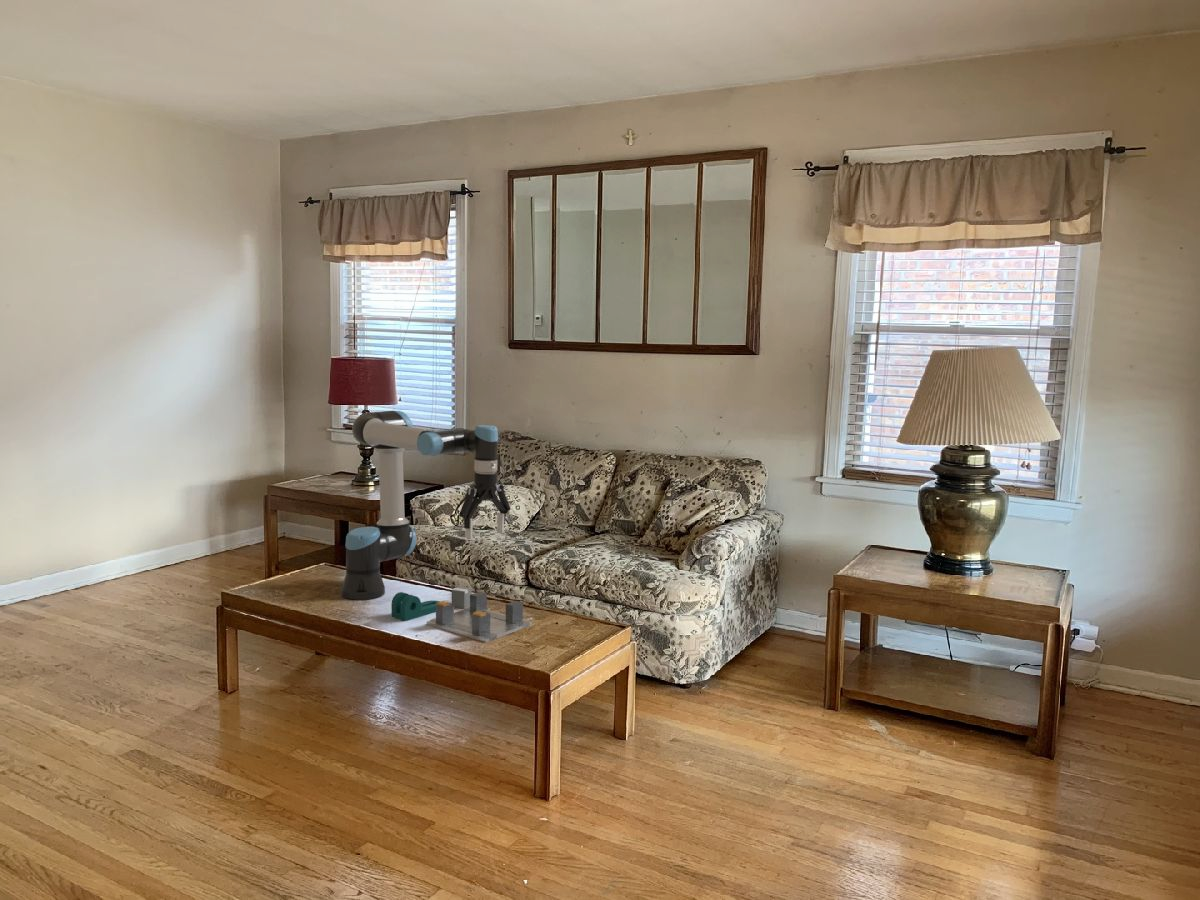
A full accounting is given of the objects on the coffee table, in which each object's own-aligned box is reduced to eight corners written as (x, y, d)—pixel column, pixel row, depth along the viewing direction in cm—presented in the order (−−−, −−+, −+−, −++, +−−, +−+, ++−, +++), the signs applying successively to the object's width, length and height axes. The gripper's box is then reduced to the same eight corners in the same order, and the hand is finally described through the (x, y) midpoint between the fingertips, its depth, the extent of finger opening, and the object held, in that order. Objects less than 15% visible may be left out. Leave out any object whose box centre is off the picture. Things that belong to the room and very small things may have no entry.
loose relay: (451, 606, 315) (451, 589, 314) (458, 602, 320) (458, 585, 319) (464, 608, 313) (464, 591, 312) (471, 604, 318) (471, 587, 317)
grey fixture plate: (426, 624, 295) (426, 601, 294) (474, 609, 313) (474, 586, 312) (485, 642, 280) (485, 617, 279) (532, 624, 298) (532, 601, 297)
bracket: (404, 622, 298) (404, 598, 297) (391, 617, 302) (391, 594, 301) (446, 609, 312) (446, 587, 311) (432, 605, 316) (432, 583, 315)
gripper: (463, 477, 291) (462, 542, 294) (521, 470, 309) (520, 531, 312) (448, 474, 296) (447, 538, 299) (506, 467, 314) (505, 527, 317)
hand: (484, 535), depth 305 cm, fingers open, 13 cm apart
